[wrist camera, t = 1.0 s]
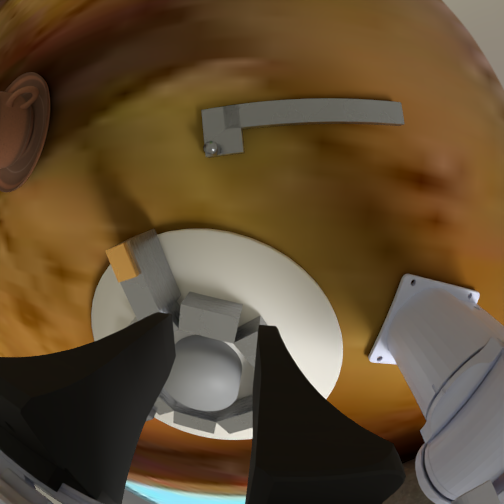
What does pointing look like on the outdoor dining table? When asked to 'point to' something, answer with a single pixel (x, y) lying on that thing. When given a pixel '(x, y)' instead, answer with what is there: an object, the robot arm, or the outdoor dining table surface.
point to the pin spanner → (289, 118)
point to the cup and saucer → (22, 128)
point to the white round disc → (254, 304)
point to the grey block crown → (184, 323)
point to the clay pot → (409, 488)
